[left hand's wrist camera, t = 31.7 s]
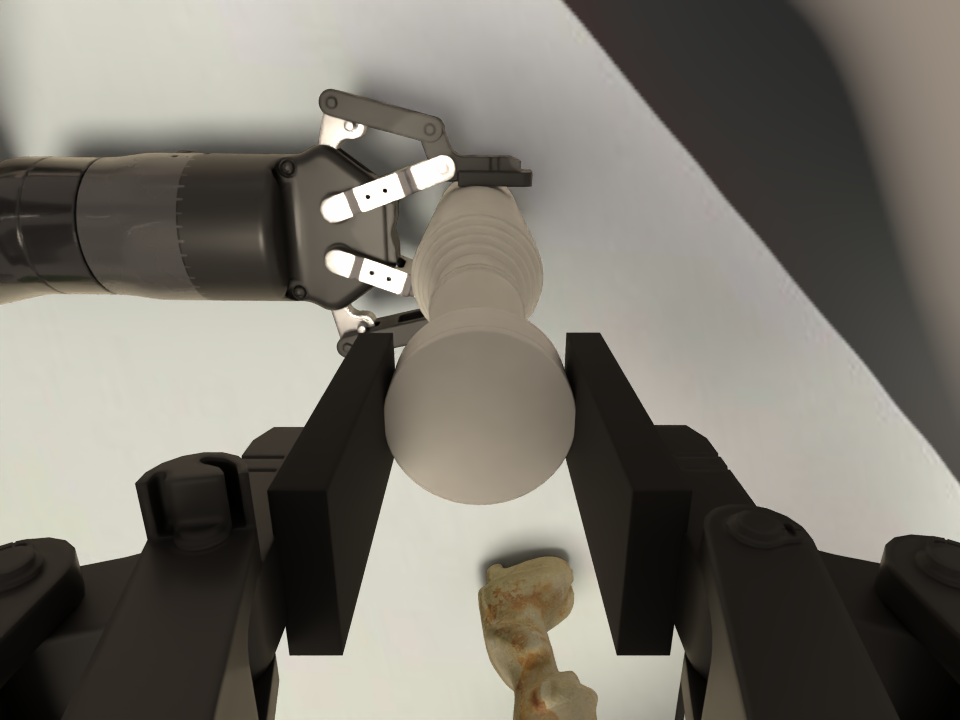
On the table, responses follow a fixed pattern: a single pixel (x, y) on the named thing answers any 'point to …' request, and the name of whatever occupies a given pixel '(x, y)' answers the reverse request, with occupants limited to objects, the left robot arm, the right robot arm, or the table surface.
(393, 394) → the cap
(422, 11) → the table surface
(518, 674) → the sculpture
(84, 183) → the right robot arm
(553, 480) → the table surface
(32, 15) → the table surface
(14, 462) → the table surface
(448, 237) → the bottle
